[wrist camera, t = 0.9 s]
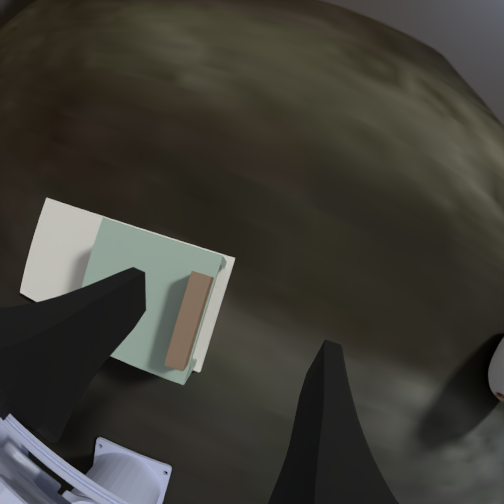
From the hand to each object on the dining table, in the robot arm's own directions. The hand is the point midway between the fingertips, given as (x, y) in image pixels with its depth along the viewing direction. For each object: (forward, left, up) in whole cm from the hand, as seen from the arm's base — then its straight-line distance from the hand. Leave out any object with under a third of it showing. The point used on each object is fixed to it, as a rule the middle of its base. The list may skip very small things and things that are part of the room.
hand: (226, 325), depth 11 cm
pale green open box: (-1, +6, -13) cm, 15 cm away
